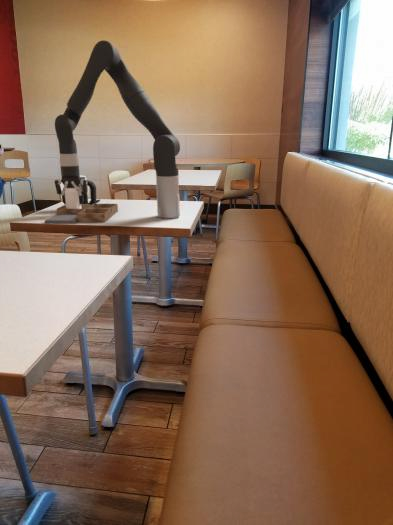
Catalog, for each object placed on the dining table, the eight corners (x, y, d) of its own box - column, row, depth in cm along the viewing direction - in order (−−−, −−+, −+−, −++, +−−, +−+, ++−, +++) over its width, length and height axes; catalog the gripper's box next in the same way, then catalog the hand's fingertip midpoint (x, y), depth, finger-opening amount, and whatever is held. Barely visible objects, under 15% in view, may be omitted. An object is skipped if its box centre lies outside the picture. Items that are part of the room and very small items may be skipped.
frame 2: (111, 216, 174) (111, 208, 173) (105, 222, 164) (104, 213, 163) (85, 216, 175) (85, 208, 174) (77, 222, 164) (76, 213, 163)
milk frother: (66, 211, 185) (63, 178, 181) (72, 205, 200) (69, 175, 196) (98, 211, 187) (95, 178, 182) (101, 205, 202) (99, 174, 197)
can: (77, 216, 176) (75, 188, 172) (64, 215, 177) (61, 187, 173) (84, 213, 182) (82, 186, 178) (71, 212, 183) (68, 185, 179)
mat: (83, 217, 173) (83, 214, 173) (74, 223, 162) (74, 220, 161) (56, 217, 174) (55, 214, 173) (44, 223, 162) (44, 220, 162)
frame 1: (90, 212, 184) (90, 204, 183) (83, 217, 174) (82, 208, 173) (66, 212, 185) (65, 204, 184) (57, 217, 174) (56, 208, 173)
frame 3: (118, 211, 186) (117, 203, 185) (112, 216, 175) (111, 208, 174) (93, 211, 186) (93, 203, 185) (86, 216, 175) (85, 208, 174)
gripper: (88, 164, 176) (92, 202, 181) (56, 164, 176) (60, 202, 182) (83, 165, 169) (87, 205, 174) (49, 165, 169) (53, 205, 174)
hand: (73, 203), depth 178 cm, fingers closed on can, 6 cm apart
